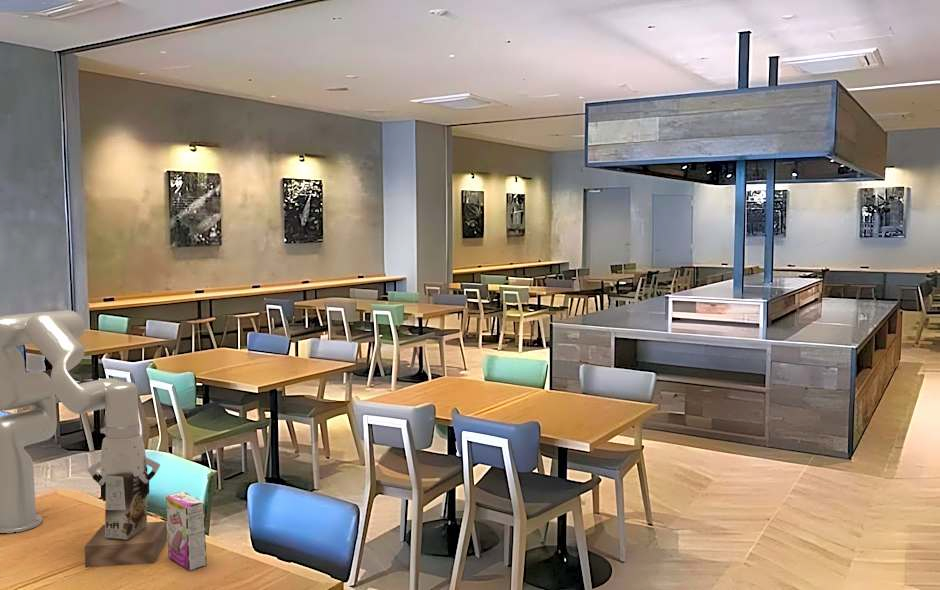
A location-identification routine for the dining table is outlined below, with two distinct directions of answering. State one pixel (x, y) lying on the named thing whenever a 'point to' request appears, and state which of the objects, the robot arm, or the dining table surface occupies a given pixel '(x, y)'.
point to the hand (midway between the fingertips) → (125, 497)
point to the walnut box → (126, 547)
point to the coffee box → (124, 506)
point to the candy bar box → (186, 530)
